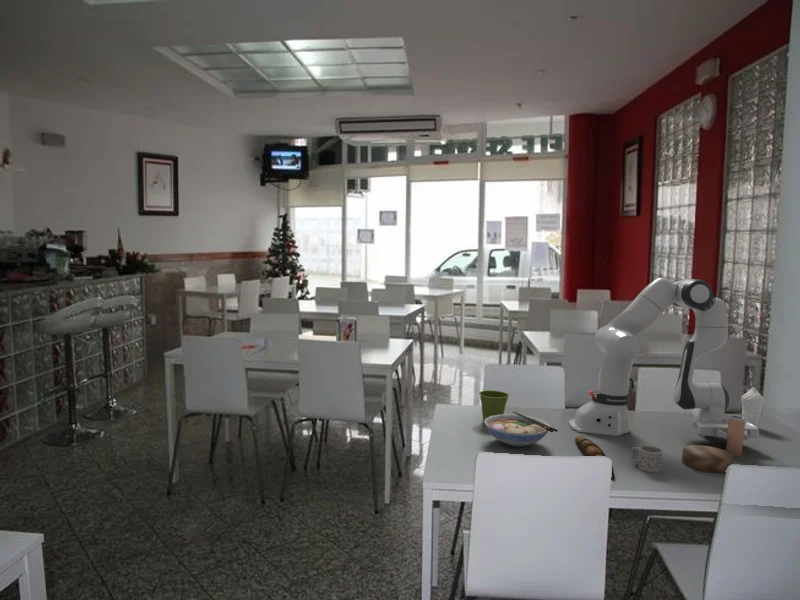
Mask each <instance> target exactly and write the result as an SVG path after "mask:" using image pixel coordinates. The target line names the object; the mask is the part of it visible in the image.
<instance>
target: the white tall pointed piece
mask: <svg viewBox="0 0 800 600" xmlns="http://www.w3.org/2000/svg"><path fill="white" fill-rule="evenodd" d="M740 401H741V407H742V411H741V413H742V417H743V418H745V420H746V421H747V422H750V423H752V424H753V425H755V426H756V427H758V424H759V420H760V417H761V415H762V410H763V406H764V404H765V402H766V400H765V398H764V397H763V396H762V394H761V393H760V392H759V391H758V390H757V388H756V387H751V388H750V389H749V390H748V391H747V392H746V393H744V394H743V395H741V398H740Z"/></svg>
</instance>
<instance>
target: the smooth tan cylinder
mask: <svg viewBox="0 0 800 600" xmlns="http://www.w3.org/2000/svg"><path fill="white" fill-rule="evenodd" d="M744 429H745V421H744V420H741V419H734V418H731V419H729V423H728V433H729V438H726V446H725V451H727V452H729V453H731V454H732V455H733V457H734V458H741V457H743V448H744V440H745V439H744Z"/></svg>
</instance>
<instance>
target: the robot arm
mask: <svg viewBox="0 0 800 600" xmlns="http://www.w3.org/2000/svg"><path fill="white" fill-rule="evenodd" d="M671 305H674V306H677V307H680V308H682V307H683V308H685V309H691V310H692V311H693V313H694V317H695V321H694V322H695V325H694V326H695V328H694V332H693V335H692V337H691V339H689V340H687V341H686V343H685V345H684V348H683V352H682V358H681V362H680V366H679V367H680V368H679V373H678V377H677V382H676V385H675V389H674V391H673V393H674V394H673V398H674V402H675V403H676V405H677V406H679V408H681V409H683V410H686V411H687V410H692V411H691V413H692V417H693V419H694V421H695V422H694V423H693V422H692V424H691V426H692V427H693V428H695V431H696V432H697V434H698V435H700V436H703V437H704V436H705V437H706V436H707V437H715V438H718V439H722V438H724V439H727V438H729V433H728V423H729V419H731V418H734V419H741V420H744V421H745V429H744V440H749V439H758V438H759V436H760V429H759V427H758V426H757V427H756V426H755V425H753V424H752V423H750V422H747V421H746V420H745V418H743V416H742V417H741V416H738V415H737V416H736V415H731V414H728V413H726V412H727V410H728V408H729V405H730V395H729V392H728V390H727V389H726V388H725V386H724V385H722V384H721V383H720V382H693V377H694V373H695V372H694V371H695V367H696V363H697V360H698V359H700V357H703V356H704V355H707V354H709V353H712V352H715V351H717V350H719V349H720V348H722V347H723V346H724V345H725V344H726V342H727V340H728V336H729V328H728V327H729V321H728V319H729V318H728V310H727V306H726V303H725V301H724V300H722V299H721V298H719V297H716V296H715V294H714V291H713V289H712V287H711V285H709V283H708V282H706V281H704V280H702V279H698V278H695V279H694V278H684V279H677V280H674V281H671V280H669V279H668V278H665V277H664V278H663V277H657V278H656V279H654V280H653V281H651V282H650V283H649V284H647V285H646V286H645V287H644V288H643V289H642V290H641V292H639V293H638V295H637V296H636V297H635V298H634V299H633V300H632V301H631V302H630V304H629V305H628V306H627V307H626V308H625V309H624V310H623V311H622V312H621V313H620V314H618V315H617V316H615V318H614V319H612V320H611V321H610V322H608V323H607V324H606V325H604V326H602V327H600V328H599V329H598V330H597V331H596V332H595V335H594V342H595V344H596V346H597V348H598V350H599V351H601V352H602V353H604V354H605V356H604V360H603V362H602V363H603V364H602V366H601V368H600V370H599V372H598V381H597V382H598V385H597V390H596V391H594V390H593V389H592V390H589V391H588V394H589V395H590V396H591V400H590V401H588V402H586V403H585V404H583V405H581V406H579V408H578V409H577V410H576V412H575V416H574V417H575V418H574V419H573V418H572V419H570V420H569V421H568V425H569V427H570V428H571V429H572V430H573V431H576V432H579V433H587V434H597V435H606V436H615V437H618V436H622V435H624V434H627V433H630V432H631V429H630V422H629V415H628V413H629V411H628V409H629V406H630V394H629V389H630V375H631V372H632V367H633V365H634V361H635V359H636V358H637V356H638V355H639V354H640V351H641V343H640V342H639V339H637V337H638V336H639V335H640V334H642V333H643V332H645V331H647V330H650V329H651V327H652V326H653V325H654V324H655V323H656V322H657V321H658V319H659V318H660V317H661V316H662V314H664V312H665V311H666V310H667V309H668V308H669V307H670V306H671Z"/></svg>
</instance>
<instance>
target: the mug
mask: <svg viewBox="0 0 800 600" xmlns="http://www.w3.org/2000/svg"><path fill="white" fill-rule="evenodd" d="M636 451H637V452H638V459H637V458H636V457H635V453H636ZM662 454H663V450H662V449H661V448H659V447H657V446H652V445H641V446H640V447H639V446H633V447H632V448H631V452H630V455H631V456H630V458H631V461H633V462H634V463H636V464H637V470H639V469H640V470H639V471H641V470H642V471H641V472H643V473H647V472H649V473H648V474H659V473H660V472H661V470H662V469H661V468H662Z"/></svg>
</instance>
